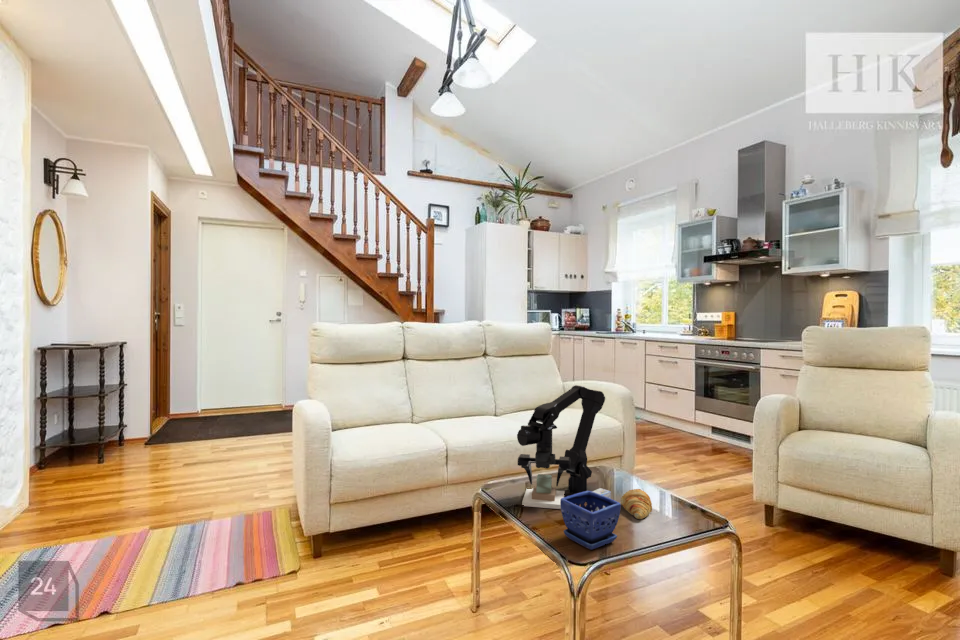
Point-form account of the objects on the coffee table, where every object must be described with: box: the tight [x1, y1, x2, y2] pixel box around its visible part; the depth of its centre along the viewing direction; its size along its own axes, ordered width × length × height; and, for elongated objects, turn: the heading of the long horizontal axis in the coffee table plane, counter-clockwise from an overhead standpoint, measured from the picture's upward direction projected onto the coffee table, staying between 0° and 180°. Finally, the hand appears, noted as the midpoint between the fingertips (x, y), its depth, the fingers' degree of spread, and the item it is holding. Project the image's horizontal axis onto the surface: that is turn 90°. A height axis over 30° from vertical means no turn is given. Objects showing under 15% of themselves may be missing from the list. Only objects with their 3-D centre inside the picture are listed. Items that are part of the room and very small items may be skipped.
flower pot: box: [560, 490, 622, 550], centre depth 145 cm, size 13×13×12 cm
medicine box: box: [591, 487, 612, 512], centre depth 161 cm, size 8×4×9 cm, turn 134°
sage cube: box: [536, 473, 553, 494], centre depth 177 cm, size 5×5×5 cm
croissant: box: [619, 488, 653, 520], centre depth 169 cm, size 21×10×8 cm, turn 169°
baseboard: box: [521, 485, 566, 510], centre depth 177 cm, size 14×14×4 cm
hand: (544, 485), depth 177 cm, fingers open, 9 cm apart
